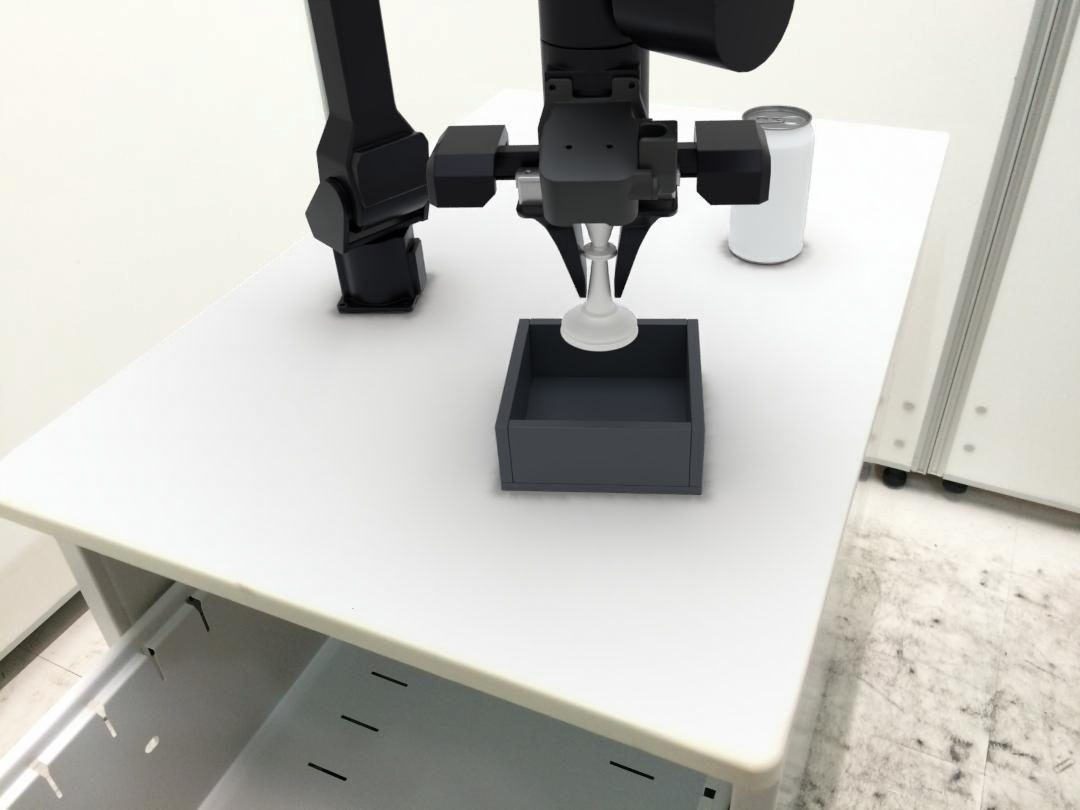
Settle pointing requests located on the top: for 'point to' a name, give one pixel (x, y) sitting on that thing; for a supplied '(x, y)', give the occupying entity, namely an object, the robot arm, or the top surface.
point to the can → (777, 189)
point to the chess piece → (599, 302)
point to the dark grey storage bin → (603, 412)
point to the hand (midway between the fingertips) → (600, 294)
